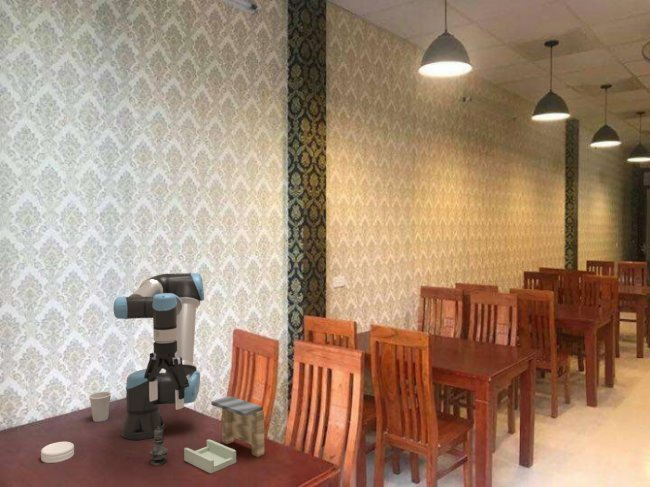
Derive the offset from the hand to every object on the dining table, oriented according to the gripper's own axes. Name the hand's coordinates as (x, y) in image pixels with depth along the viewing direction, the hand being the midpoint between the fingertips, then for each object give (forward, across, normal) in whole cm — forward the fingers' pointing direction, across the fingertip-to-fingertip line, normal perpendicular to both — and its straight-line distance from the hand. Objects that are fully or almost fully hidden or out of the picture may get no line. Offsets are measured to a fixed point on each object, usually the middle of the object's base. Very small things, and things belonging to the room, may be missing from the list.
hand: (166, 404), depth 171 cm
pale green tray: (+19, +12, +8) cm, 24 cm away
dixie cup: (+20, -54, +9) cm, 58 cm away
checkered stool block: (+19, +13, +19) cm, 30 cm away
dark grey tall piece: (+19, -2, -2) cm, 19 cm away
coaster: (+20, -33, -19) cm, 43 cm away
